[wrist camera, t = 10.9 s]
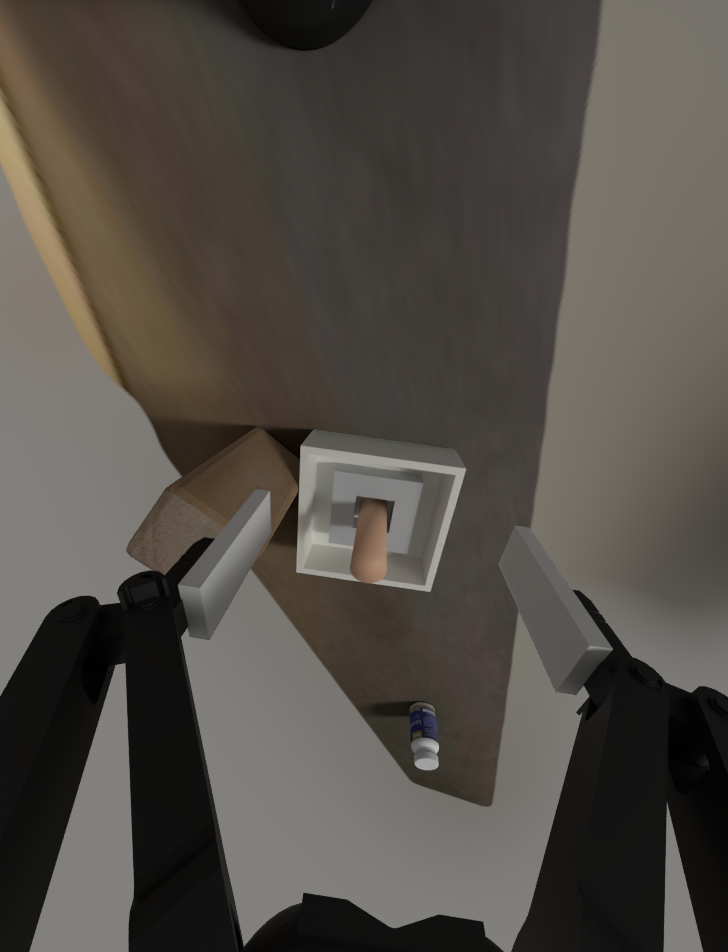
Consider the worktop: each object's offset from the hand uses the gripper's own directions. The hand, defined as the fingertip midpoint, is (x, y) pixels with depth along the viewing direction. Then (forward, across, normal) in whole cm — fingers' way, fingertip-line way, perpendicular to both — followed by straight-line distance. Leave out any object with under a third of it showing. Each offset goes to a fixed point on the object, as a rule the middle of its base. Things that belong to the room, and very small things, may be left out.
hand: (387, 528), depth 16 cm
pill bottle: (+25, +18, -66) cm, 73 cm away
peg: (+25, 0, -14) cm, 29 cm away
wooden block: (+27, -17, -12) cm, 34 cm away
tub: (+26, 0, -15) cm, 30 cm away
